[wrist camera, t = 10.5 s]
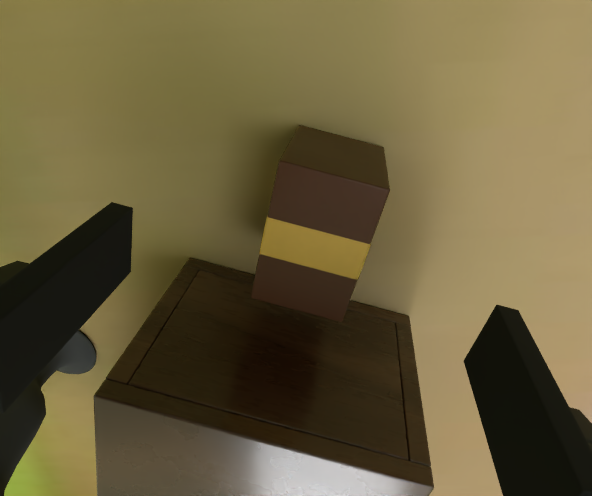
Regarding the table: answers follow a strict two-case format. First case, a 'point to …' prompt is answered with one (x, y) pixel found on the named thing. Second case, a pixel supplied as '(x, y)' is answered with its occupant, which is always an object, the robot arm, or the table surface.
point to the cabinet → (261, 399)
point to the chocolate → (320, 222)
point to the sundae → (37, 404)
